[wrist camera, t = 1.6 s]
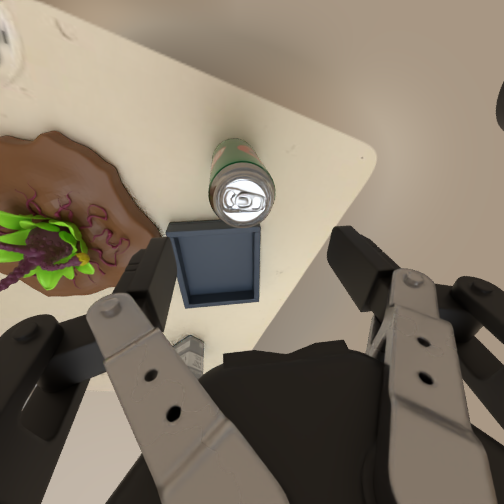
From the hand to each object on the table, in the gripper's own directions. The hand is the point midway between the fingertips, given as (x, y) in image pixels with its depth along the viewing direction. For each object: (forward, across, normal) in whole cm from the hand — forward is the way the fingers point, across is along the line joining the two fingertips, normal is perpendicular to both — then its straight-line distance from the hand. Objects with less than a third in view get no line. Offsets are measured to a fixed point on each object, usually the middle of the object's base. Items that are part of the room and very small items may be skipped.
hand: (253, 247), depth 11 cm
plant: (+18, +21, +7) cm, 29 cm away
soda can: (+18, 0, 0) cm, 18 cm away
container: (+18, +3, +14) cm, 23 cm away
